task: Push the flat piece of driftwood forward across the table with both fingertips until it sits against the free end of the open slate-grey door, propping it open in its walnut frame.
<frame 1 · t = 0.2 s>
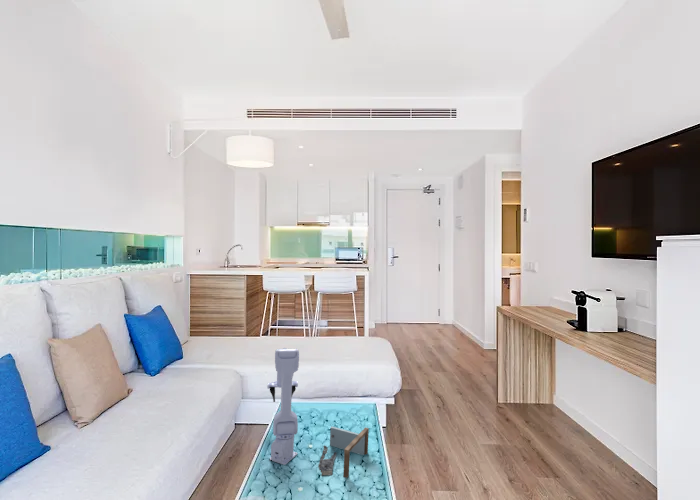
hand: (282, 400, 198), 11 cm above the table, tool pointing down, fingers open, 7 cm apart
driftwood: (328, 462, 166), on the table
door frame: (356, 464, 164), on the table
door: (346, 441, 174), point 4 cm above the table, hinge at 90.0°
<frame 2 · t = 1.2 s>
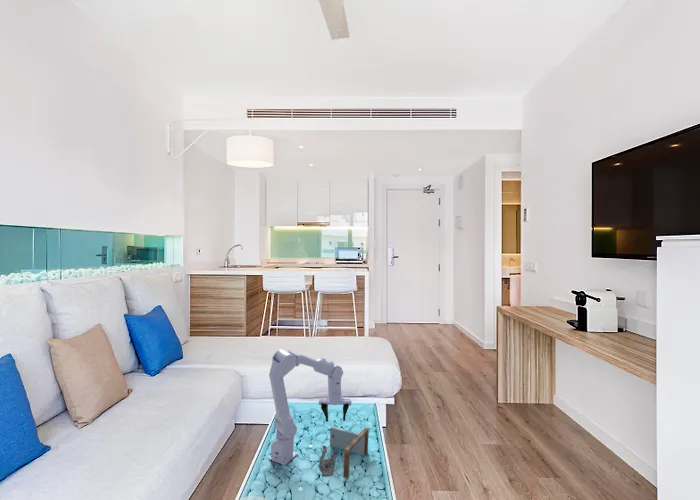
hand: (335, 419, 181), 10 cm above the table, tool pointing down, fingers open, 7 cm apart
nothing on the table moved.
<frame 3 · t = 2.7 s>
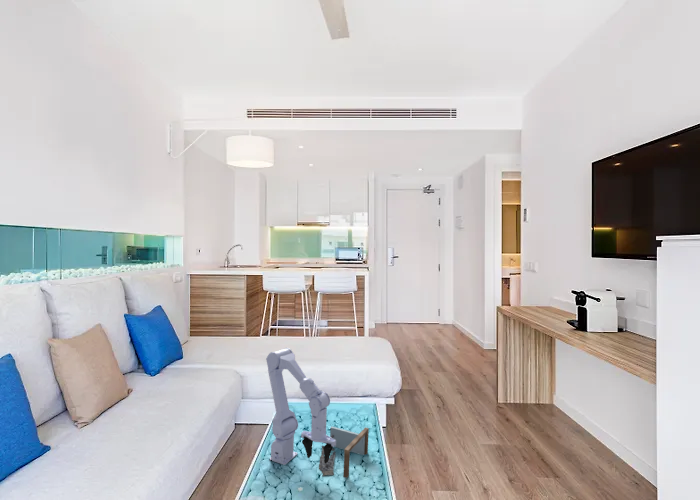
hand: (317, 459, 157), 5 cm above the table, tool pointing down, fingers open, 7 cm apart
nothing on the table moved.
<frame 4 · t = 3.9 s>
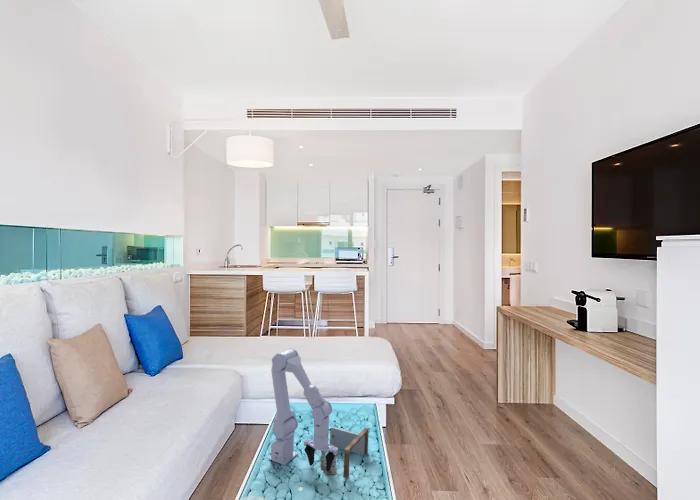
hand: (320, 467, 159), 1 cm above the table, tool pointing down, fingers open, 7 cm apart
driftwood: (329, 462, 166), on the table, touching gripper
everything else where it was.
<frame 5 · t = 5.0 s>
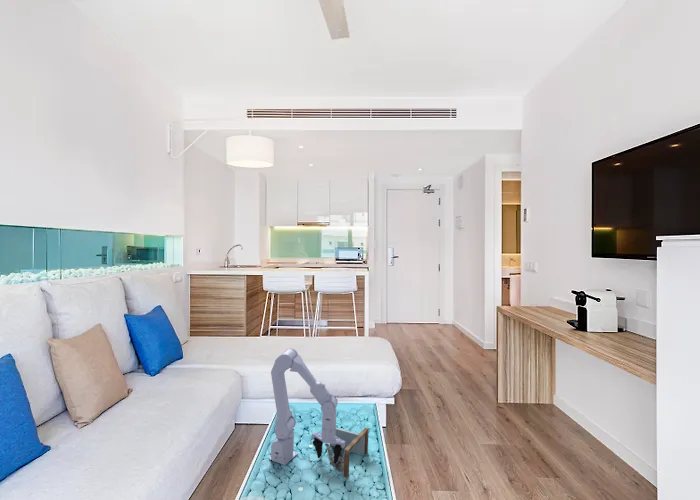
hand: (327, 459, 165), 1 cm above the table, tool pointing down, fingers open, 7 cm apart
driftwood: (337, 459, 169), on the table, touching gripper
everything else where it was.
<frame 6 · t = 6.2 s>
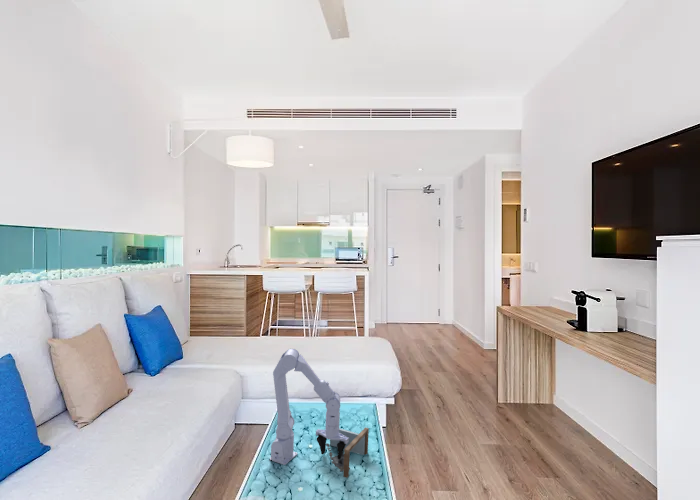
hand: (331, 455, 168), 1 cm above the table, tool pointing down, fingers open, 7 cm apart
door: (346, 441, 174), point 4 cm above the table, hinge at 90.3°
everything else where it was.
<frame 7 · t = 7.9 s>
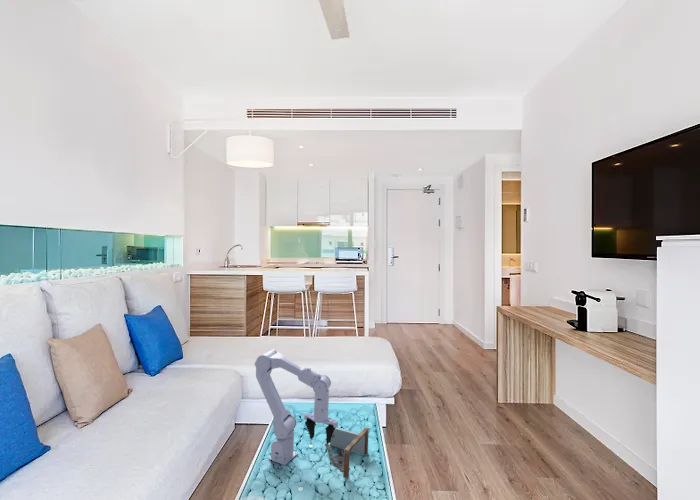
hand: (320, 440, 164), 9 cm above the table, tool pointing down, fingers open, 7 cm apart
driftwood: (337, 459, 169), on the table
everything else where it was.
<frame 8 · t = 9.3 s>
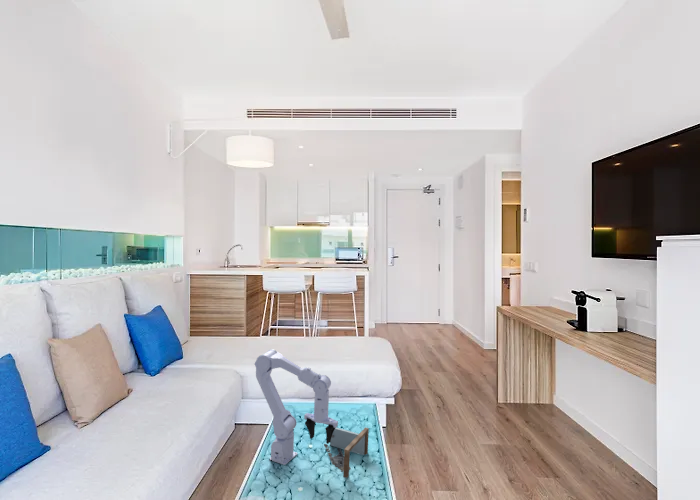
hand: (320, 440, 164), 9 cm above the table, tool pointing down, fingers open, 7 cm apart
nothing on the table moved.
at the end: driftwood inside the target area (3.2 cm from its centre), on the table; door at +90° (first picture: +90°); driftwood moved 4.8 cm from its start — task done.
